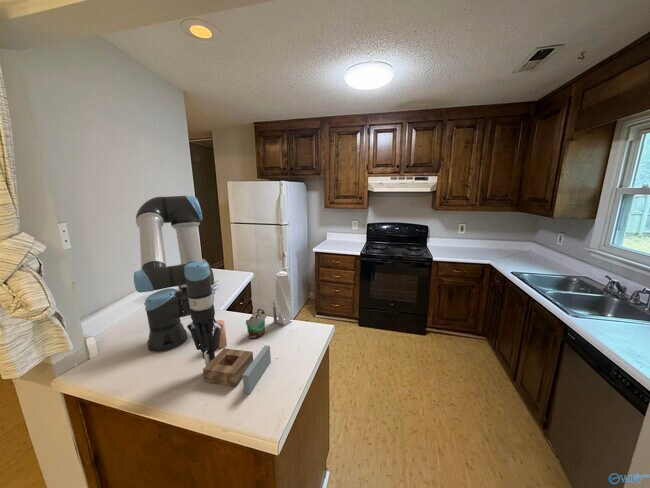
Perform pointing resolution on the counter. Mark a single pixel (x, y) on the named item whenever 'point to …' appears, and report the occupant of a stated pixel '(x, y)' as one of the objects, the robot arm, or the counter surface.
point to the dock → (256, 369)
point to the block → (228, 367)
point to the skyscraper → (282, 298)
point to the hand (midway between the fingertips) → (210, 366)
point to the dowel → (222, 335)
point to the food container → (256, 324)
